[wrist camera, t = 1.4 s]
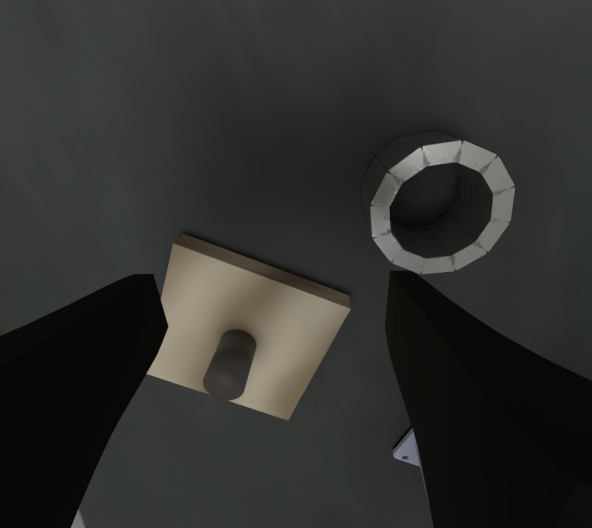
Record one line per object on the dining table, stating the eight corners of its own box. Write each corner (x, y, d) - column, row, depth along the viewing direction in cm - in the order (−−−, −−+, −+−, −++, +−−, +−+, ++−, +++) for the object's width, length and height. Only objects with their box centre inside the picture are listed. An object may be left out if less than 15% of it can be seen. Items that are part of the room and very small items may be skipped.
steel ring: (498, 158, 17) (544, 175, 13) (436, 254, 19) (460, 289, 16) (394, 113, 16) (413, 118, 13) (345, 218, 19) (349, 246, 15)
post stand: (349, 295, 21) (355, 348, 17) (290, 403, 26) (282, 467, 22) (183, 233, 20) (142, 272, 16) (154, 358, 25) (117, 415, 21)
